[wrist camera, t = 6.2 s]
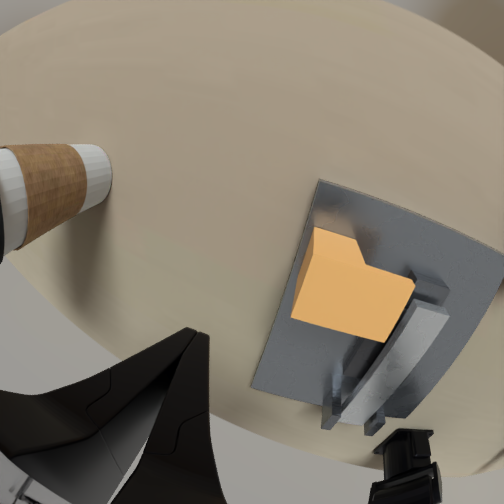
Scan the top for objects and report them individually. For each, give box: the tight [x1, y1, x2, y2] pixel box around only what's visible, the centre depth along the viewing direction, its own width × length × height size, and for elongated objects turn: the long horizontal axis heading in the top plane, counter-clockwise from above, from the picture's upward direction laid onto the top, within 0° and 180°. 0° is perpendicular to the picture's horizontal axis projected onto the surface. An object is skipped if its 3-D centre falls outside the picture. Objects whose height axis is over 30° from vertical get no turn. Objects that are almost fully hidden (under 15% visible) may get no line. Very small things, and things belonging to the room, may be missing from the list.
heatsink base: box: [251, 179, 504, 436], centre depth 19 cm, size 20×18×5 cm
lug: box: [291, 227, 415, 343], centre depth 16 cm, size 4×6×5 cm, turn 77°
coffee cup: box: [0, 144, 112, 264], centre depth 16 cm, size 8×8×15 cm
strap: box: [337, 299, 450, 426], centre depth 19 cm, size 14×3×1 cm, turn 167°
